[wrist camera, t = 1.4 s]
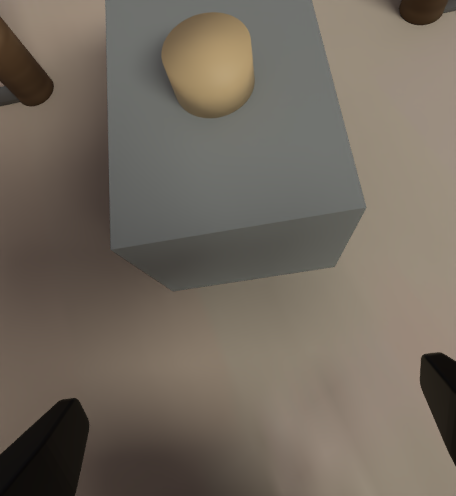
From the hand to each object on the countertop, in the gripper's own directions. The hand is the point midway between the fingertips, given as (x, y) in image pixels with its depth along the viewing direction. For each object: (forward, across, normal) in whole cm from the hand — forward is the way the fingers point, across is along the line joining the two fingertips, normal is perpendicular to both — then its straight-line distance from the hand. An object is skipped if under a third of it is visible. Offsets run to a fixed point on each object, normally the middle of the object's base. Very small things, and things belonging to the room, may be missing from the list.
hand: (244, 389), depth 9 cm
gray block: (+18, 0, 0) cm, 18 cm away
